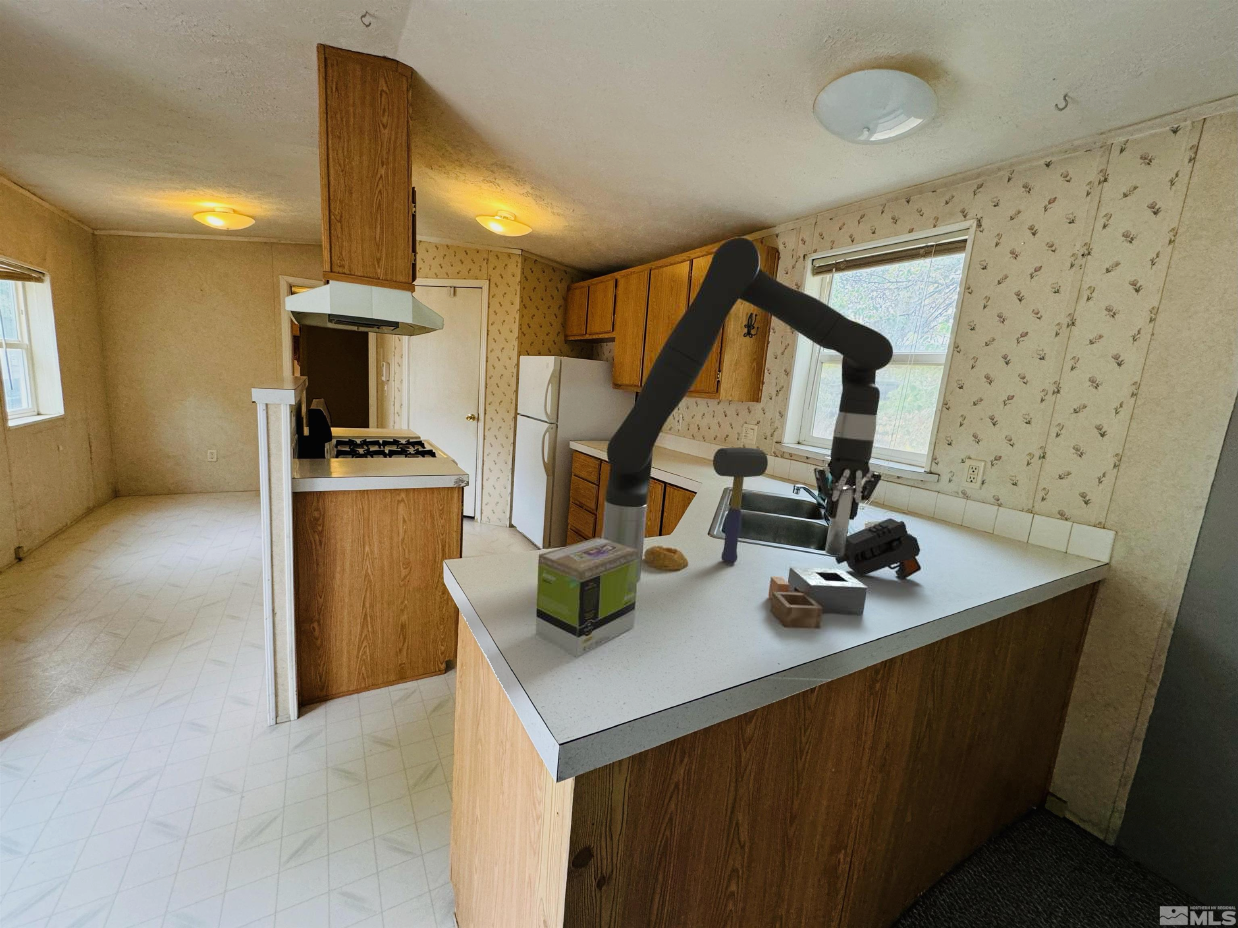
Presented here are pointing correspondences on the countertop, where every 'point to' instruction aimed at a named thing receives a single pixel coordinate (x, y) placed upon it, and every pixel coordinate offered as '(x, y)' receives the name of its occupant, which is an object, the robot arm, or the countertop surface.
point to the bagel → (665, 558)
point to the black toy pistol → (882, 549)
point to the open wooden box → (796, 610)
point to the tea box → (586, 594)
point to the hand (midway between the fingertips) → (840, 517)
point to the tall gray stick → (840, 523)
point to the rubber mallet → (737, 488)
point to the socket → (829, 589)
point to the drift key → (779, 586)
